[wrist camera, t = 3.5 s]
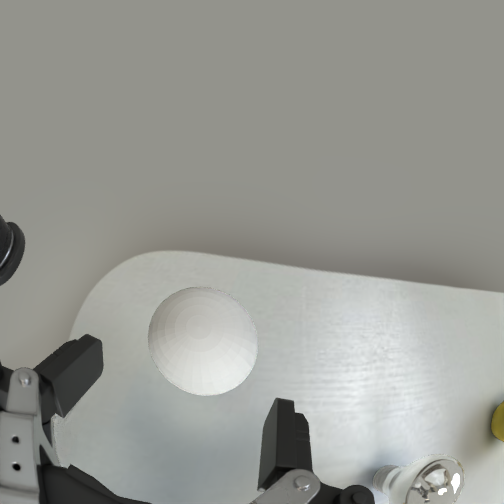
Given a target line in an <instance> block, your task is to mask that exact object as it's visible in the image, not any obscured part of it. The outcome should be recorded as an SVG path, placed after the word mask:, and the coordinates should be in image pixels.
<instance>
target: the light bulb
mask: <svg viewBox="0 0 504 504" xmlns="http://www.w3.org/2000/svg"><path fill="white" fill-rule="evenodd" d="M464 482H465V473H464V470H463V467H462V465H461V464H460V463H459V461H458V460H456V459H455V458H453V457H451V456H449V455H444V454H433V455H428V456H425V457H422V458H420V459H417V460H415V461H414V462H412V463H410V464H409V465H405V466H400V467H399V466H394V465H386V466H384V467H382V468H381V469H379V470H378V471H377V472H376V474H375V475H374V478H373V487H374V488H375V489H376V490H377V491H380V492H382V493H384V494H385V495H386V496H387V497H388V500H389V504H454V503H455V502H456V501H457V499H458V498H459V496H460V494H461V492H462V490H463V487H464Z"/></svg>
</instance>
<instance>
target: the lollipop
mask: <svg viewBox="0 0 504 504" xmlns="http://www.w3.org/2000/svg"><path fill="white" fill-rule="evenodd" d="M148 342H149V349H150V352H151V356H152V358H153V360H154V362H155V364H156V366H157V368H158V369H159V370H160V372H161V373H162V374H163V375H164V377H165V378H166V379H167V380H169V381H170V382H171V383H172V384H173V385H175V386H176V387H178V388H180V389H182V390H184V391H186V392H189V393H192V394H196V395H204V396H209V395H218V394H222V393H225V392H228V391H230V390H232V389H233V388H235V387H237V386H238V385H239V384H241V383H242V382H243V381H244V380H245V379H246V378H247V376H248V375H249V373H250V372H251V371H252V368H253V366H254V364H255V361H256V357H257V352H258V336H257V332H256V327H255V325H254V323H253V320H252V318H251V317H250V315H249V314H248V312H247V311H246V309H245V308H244V307H243V306H242V305H241V304H240V303H239V302H238V301H237V300H236V299H234V298H233V297H232V296H230V295H229V294H226V293H224V292H222V291H220V290H216V289H212V288H206V287H192V288H187V289H183V290H180V291H178V292H176V293H174V294H172V295H171V296H169V297H168V298H167V299H165V300H164V301H163V302H162V303H161V304H160V306H159V307H158V308H157V309H156V311H155V313H154V315H153V316H152V319H151V322H150V325H149V333H148Z"/></svg>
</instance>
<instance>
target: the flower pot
mask: <svg viewBox="0 0 504 504" xmlns="http://www.w3.org/2000/svg"><path fill="white" fill-rule="evenodd" d="M491 430H492V433H493V435H495V436H496V437H497V438H498V439H499V440H501V441H503V442H504V401H503V402H502V403H501V404H500V405H499V406H498V407H497V409H496V410H495V412H494V414H493V417H492V422H491Z"/></svg>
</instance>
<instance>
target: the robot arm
mask: <svg viewBox="0 0 504 504" xmlns="http://www.w3.org/2000/svg"><path fill="white" fill-rule="evenodd" d="M14 245H15V234H14V231H13V230H12V229H11V227H10V226H9V225H8V224H7V223H6V222H5V221H4V219H3V218H2V216H1V215H0V270H1V269H2V268H3V267H4V266H5V265H6V263H7V262H8V260H9V258H10V256H11V254H12V252H13V249H14ZM102 371H103V351H102V342H101V340H99V339H97V338H95V337H93V336H91V335H89V334H85V335H84V336H83V337H81V338H80V339H79V340H76V339H74V340H72V341H69V342H66V343H64V344H63V345H62V346H61V347H59V349H57V350H56V351H55V352H53V354H51V355H50V356H48V357H47V358H46V359H45V360H43V361H42V362H41V363H40V364H39V365H37V366H36V367H35V368H34V369H30V368H19V369H16V370H15V371H13V370H11V369H8V368H6V367H4V366H2V365H1V362H0V504H151V503H148V502H143V501H137V500H132V499H128V498H123V497H120V496H117V495H116V494H114V493H113V492H111V491H110V490H109V489H108V488H106V487H105V486H104V485H102V484H101V483H100V482H99V481H97V480H96V479H95V478H94V477H92V476H90V475H88V474H87V473H85V472H83V471H81V470H80V469H78V468H76V467H75V466H73V465H71V464H70V466H69V467H68V469H67V468H64V467H61V466H60V463H59V460H58V457H57V454H56V448H55V438H54V426H53V418H52V416H53V415H54V414H55V413H56V414H58V415H59V416H61V417H62V418H64V417H65V416H66V415H67V414H68V412H69V411H70V410H71V409H72V408H73V407H74V405H75V404H76V403H77V402H78V401H79V400H80V399H81V397H82V396H83V395H84V394H85V393H86V392H87V391H88V389H89V388H90V387H91V386H92V385H93V384H94V383H95V382H96V380H97V379H98V378H99V377H100V376H101V374H102ZM309 441H310V436H309V425H308V422H307V420H306V418H305V417H304V415H303V414H301V413H295V409H294V401H292V400H287V399H281V398H276V399H275V400H274V403H273V405H272V407H271V409H270V412H269V414H268V416H267V418H266V420H265V424H264V427H263V435H262V447H261V458H260V469H259V479H258V489H257V491H263V492H264V493H263V494H261V495H260V496H259V497H258V498H256V499H255V500H254V501H252V502H251V503H249V504H375V501H374V496H373V494H372V492H371V491H370V490H369V489H368V488H366V487H364V486H361V485H351V486H349V487H347V488H345V489H344V490H343V489H339V488H336V487H332V486H328V485H326V484H324V483H322V482H320V480H319V479H318V477H317V476H316V475H315V474H314V473H313V469H312V458H311V446H310V442H309Z"/></svg>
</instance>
